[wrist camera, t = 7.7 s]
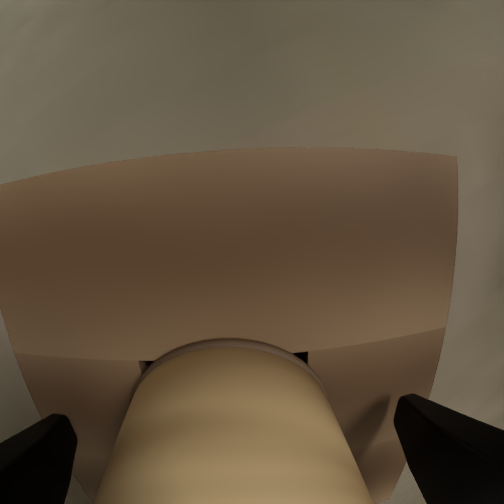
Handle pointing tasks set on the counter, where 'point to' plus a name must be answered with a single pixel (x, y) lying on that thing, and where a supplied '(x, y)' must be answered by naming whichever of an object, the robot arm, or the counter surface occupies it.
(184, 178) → the board
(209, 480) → the peg
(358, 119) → the counter surface
